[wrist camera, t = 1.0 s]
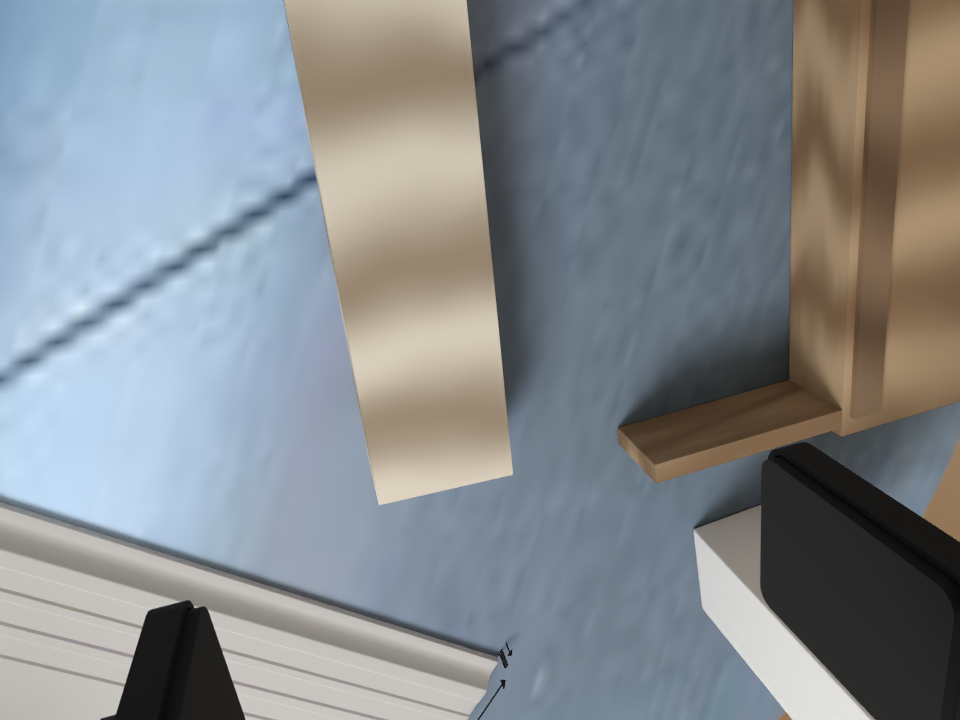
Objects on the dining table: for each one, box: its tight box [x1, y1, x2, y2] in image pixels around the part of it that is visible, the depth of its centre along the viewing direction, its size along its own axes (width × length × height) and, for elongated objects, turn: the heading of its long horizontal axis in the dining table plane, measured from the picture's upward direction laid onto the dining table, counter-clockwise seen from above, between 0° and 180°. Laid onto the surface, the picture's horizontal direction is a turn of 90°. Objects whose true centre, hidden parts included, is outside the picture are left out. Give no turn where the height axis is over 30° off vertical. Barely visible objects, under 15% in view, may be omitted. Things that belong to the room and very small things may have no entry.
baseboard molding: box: [0, 502, 512, 720], centre depth 34 cm, size 31×3×12 cm
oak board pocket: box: [618, 0, 960, 483], centre depth 31 cm, size 26×18×4 cm
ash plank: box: [283, 0, 513, 505], centre depth 29 cm, size 20×6×4 cm, turn 6°
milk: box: [694, 505, 875, 720], centre depth 31 cm, size 6×6×22 cm
